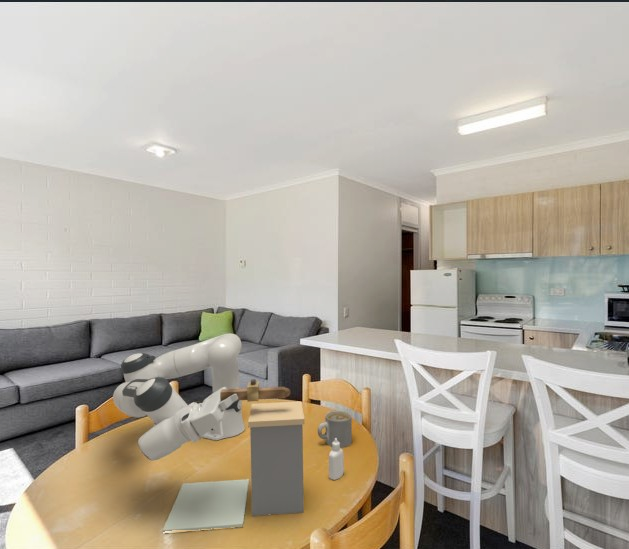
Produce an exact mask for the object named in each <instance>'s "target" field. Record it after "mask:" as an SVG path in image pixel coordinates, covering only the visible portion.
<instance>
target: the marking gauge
mask: <svg viewBox="0 0 629 549" xmlns="http://www.w3.org/2000/svg"><path fill="white" fill-rule="evenodd" d="M247 383H248V384H247V387H245V388H240V389H222V390H221V392H220V399H221V401H223V400H225V399H227V398H228V397H230V395H232V394H234V393H237V394H238V396H239V398H238V400H242V401H247V402H249V403H250V402H259V400H274V399H275V400H276V399H286V398H287V397H289V396H290V395H291V389H289V387H285V386H269V387H268V386H267V387H260V381H259V380H258V381H257V380H256V379H255V378H253V379H250V381H248V382H247ZM236 401H237V400H236Z"/></svg>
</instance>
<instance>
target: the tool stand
mask: <svg viewBox="0 0 629 549" xmlns="http://www.w3.org/2000/svg"><path fill="white" fill-rule="evenodd" d="M247 424H248V425H247V426H248V428H249V429H250V434H249V435H250V480H251V481H250V483H251V487H250V489H251V517H258V516H257V515H264V516H270V515H269V514H277V515H287V514H288V515H289V514H299V513H304V512H305V511H304V510H305V509H304V503H305V502H304V501H305V500H304V499H305V498H304V445H303V444H304V441H303V440H304V437H303V432H304V431H303V430H304V429H303V425H305V414H304V409H303V403H302V401H298V400H297V401H285V402H284V401H282V402H281V401H279V402H261V403H260V402H259V403H251V404H250V411H249V416H248V421H247Z"/></svg>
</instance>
